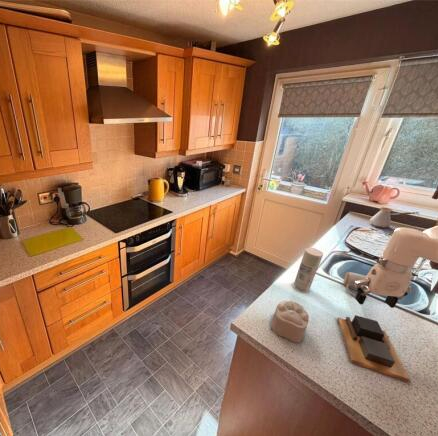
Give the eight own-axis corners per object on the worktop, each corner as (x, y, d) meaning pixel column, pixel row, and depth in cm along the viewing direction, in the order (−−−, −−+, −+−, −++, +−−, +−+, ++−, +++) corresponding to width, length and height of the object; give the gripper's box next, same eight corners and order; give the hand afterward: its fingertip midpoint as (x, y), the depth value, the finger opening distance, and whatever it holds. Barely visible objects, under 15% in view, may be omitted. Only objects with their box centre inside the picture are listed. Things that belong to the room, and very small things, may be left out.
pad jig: (383, 333, 86) (388, 325, 84) (408, 381, 70) (415, 373, 68) (337, 319, 91) (341, 311, 89) (351, 362, 76) (355, 353, 74)
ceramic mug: (341, 280, 112) (347, 267, 109) (363, 287, 108) (370, 274, 105) (342, 292, 105) (348, 279, 101) (366, 300, 100) (373, 287, 97)
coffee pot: (367, 225, 168) (375, 206, 161) (369, 220, 175) (377, 202, 168) (409, 235, 154) (420, 215, 147) (409, 230, 161) (420, 210, 154)
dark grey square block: (372, 328, 86) (377, 321, 84) (379, 342, 81) (384, 335, 79) (351, 322, 88) (355, 314, 87) (356, 335, 83) (360, 328, 81)
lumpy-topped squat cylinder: (269, 330, 86) (274, 313, 83) (275, 308, 96) (280, 292, 92) (301, 345, 81) (309, 328, 77) (304, 320, 91) (311, 304, 87)
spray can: (312, 289, 107) (326, 253, 98) (304, 294, 104) (318, 257, 95) (297, 281, 112) (309, 246, 103) (290, 286, 109) (302, 250, 100)
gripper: (373, 268, 73) (353, 308, 80) (436, 274, 71) (410, 314, 78) (358, 255, 80) (340, 293, 87) (415, 260, 78) (392, 298, 85)
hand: (373, 303), depth 83 cm, fingers open, 9 cm apart
